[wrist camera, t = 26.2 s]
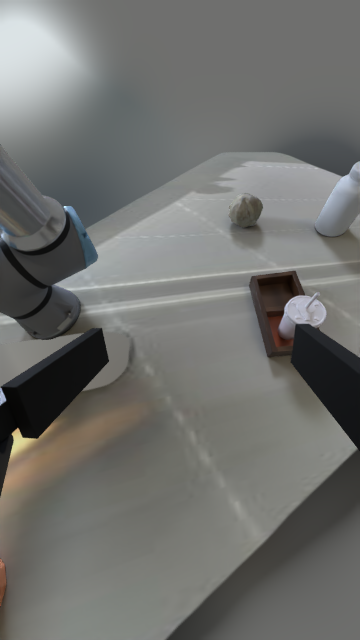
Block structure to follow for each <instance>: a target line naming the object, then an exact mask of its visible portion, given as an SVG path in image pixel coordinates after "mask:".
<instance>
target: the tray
mask: <svg viewBox="0 0 360 640" xmlns="http://www.w3.org/2000/svg"><path fill="white" fill-rule="evenodd" d="M249 286H250V290H251V294H252V298H253V302H254V306H255V310H256V314H257V317H258V321H259V325H260V329H261V333H262V337H263V341H264V345H265V348H266V352H267V356H268V357H274V356H287V355H292V349H293V341H294V338H293V339H291V340H285V339H283V338H281V337H280V336H279V334H278V327H279V325H280V323H281V320H282V318H283V315H284V313H285V312H284V310H285V306H286V304H287V303H288V302H289V300H291V299H292V298H294V297H296V296H305V293H304V291H303V288H302V286H301V284H300V281H299V279H298V276H297V274H296V271H289V272H282V273H274V274H266V275H258V276H252V277H251V281H250V284H249ZM316 329H318V330H319V327H317V328H316ZM319 331H320V330H319Z"/></svg>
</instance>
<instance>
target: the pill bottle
mask: <svg viewBox="0 0 360 640" xmlns="http://www.w3.org/2000/svg"><path fill="white" fill-rule="evenodd" d="M359 213H360V161H359V162H357V163H356V164H355V165H354V166H353V168H352V169H351V171H350V174H349V175H346V176H344V177H343V178H341V179H340V180H339V181H338V183H337V184H336V186H335V188H334V190H333V191H332V193H331V195H330V197H329V199H328V201H327V202H326V204H325V206H324V208H323V210H322V211H321V213H320V215H319V217H318V219H317V220H316V223H315V228H316V230H317V231H318V232H319V233H321V234H322V235H325V236H332V237H333V236H339V235H341V234H343V233H344V232H345V231H346V230H347V229H348V228H349V226H350V225H351V224H352V222H353V221H354V220H355V218H356V217H357V216H358V214H359Z"/></svg>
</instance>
